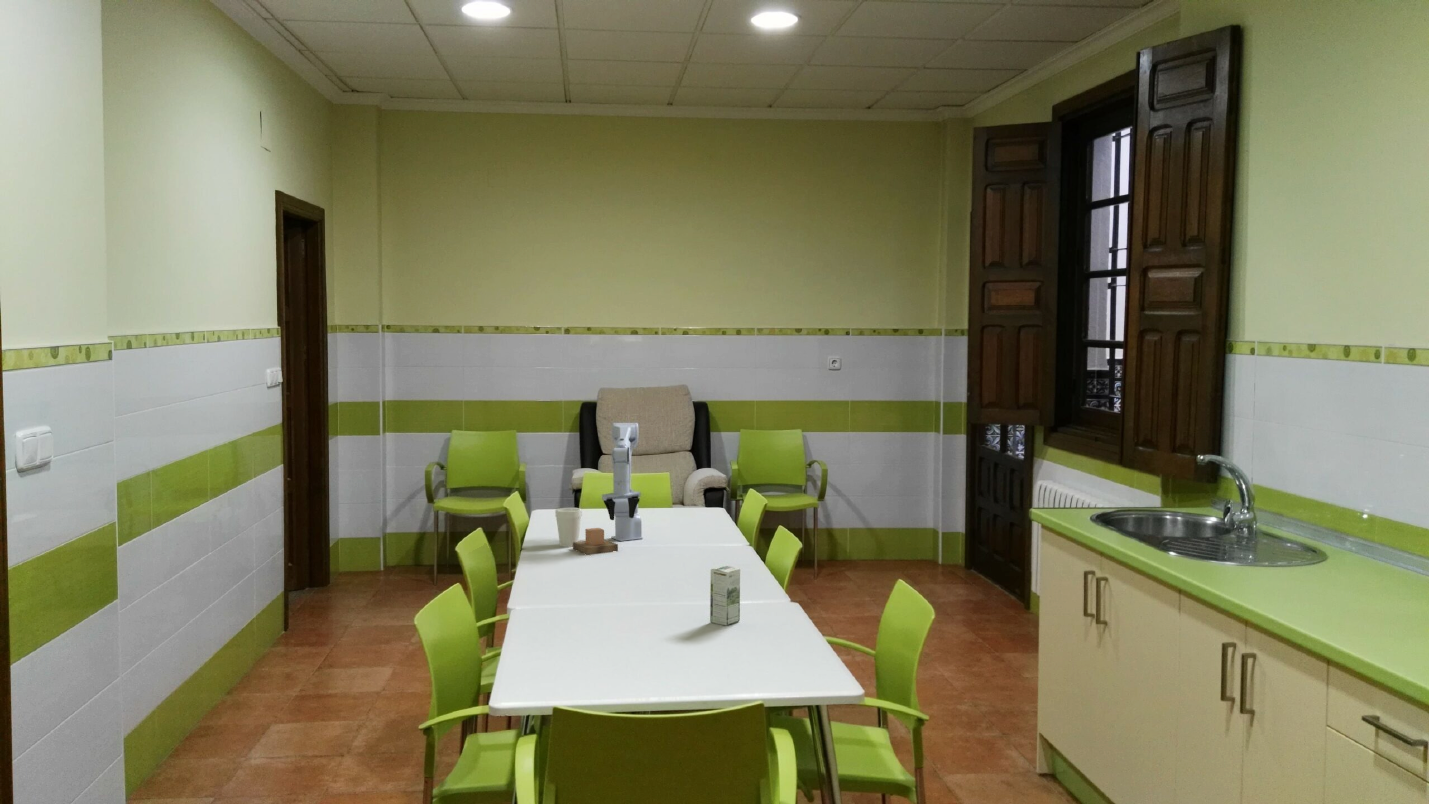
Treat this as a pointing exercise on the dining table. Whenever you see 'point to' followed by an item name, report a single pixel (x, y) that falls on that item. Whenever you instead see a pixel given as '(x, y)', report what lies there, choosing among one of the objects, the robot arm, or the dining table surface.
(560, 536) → the foam cup
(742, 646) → the dining table surface
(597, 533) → the terracotta block
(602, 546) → the walnut plinth
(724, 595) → the syrup box
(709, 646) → the dining table surface
